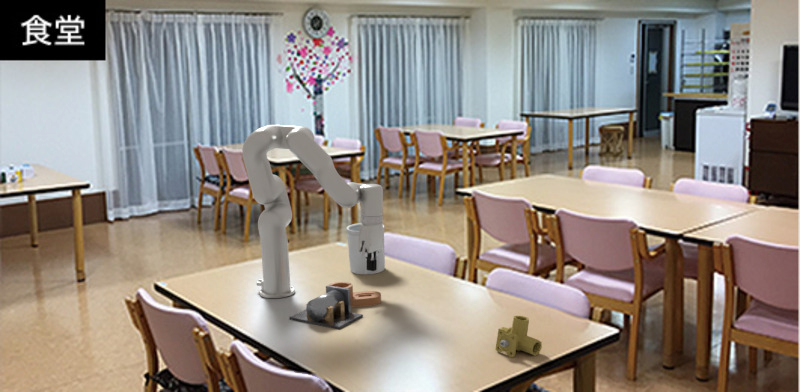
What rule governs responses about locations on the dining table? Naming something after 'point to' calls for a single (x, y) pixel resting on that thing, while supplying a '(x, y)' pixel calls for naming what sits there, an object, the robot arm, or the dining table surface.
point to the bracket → (360, 295)
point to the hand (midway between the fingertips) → (371, 270)
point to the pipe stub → (329, 309)
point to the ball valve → (517, 338)
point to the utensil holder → (355, 257)
